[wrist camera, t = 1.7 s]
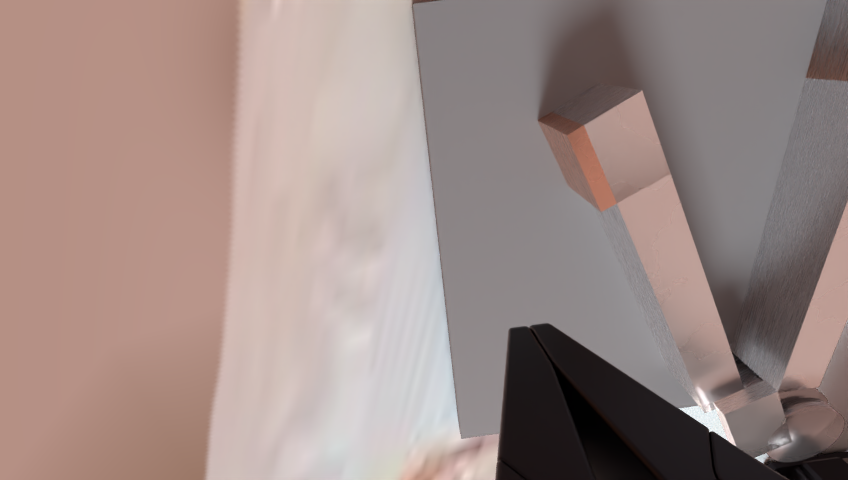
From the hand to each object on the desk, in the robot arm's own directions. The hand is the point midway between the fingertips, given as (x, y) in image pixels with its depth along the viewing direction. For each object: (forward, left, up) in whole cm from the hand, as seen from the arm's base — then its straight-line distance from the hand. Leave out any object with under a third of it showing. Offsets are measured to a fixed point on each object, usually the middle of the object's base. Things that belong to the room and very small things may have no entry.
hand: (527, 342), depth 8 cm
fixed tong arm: (-4, -15, -10) cm, 18 cm away
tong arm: (-6, -10, -10) cm, 15 cm away
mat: (-4, -9, -11) cm, 14 cm away
